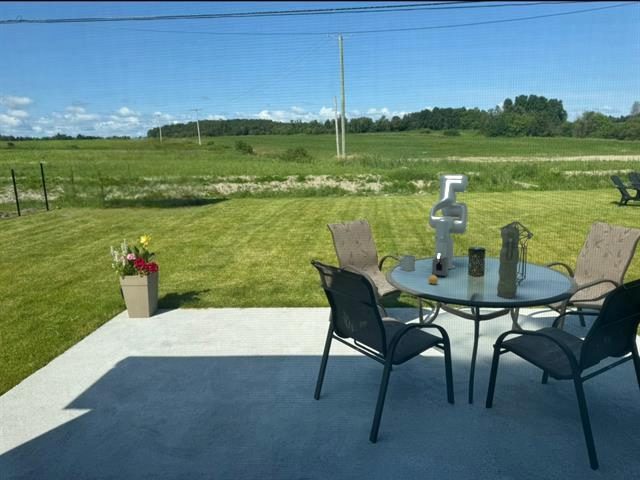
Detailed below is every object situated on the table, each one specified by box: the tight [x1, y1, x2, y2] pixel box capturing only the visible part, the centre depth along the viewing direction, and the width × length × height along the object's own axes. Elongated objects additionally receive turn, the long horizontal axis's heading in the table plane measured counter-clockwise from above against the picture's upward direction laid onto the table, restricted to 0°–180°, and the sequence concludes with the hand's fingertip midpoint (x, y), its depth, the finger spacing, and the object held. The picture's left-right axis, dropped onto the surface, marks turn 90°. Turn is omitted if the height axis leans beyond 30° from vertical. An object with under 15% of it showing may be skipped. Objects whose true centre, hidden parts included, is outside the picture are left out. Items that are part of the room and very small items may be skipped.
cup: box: [398, 254, 416, 272], centre depth 281 cm, size 7×10×9 cm
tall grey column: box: [496, 226, 521, 299], centre depth 224 cm, size 9×12×35 cm
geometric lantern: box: [498, 221, 534, 286], centre depth 247 cm, size 16×16×35 cm
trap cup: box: [431, 257, 449, 277], centre depth 266 cm, size 8×8×9 cm
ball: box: [428, 274, 439, 285], centre depth 248 cm, size 5×5×5 cm
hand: (440, 268), depth 266 cm, fingers closed on trap cup, 7 cm apart
